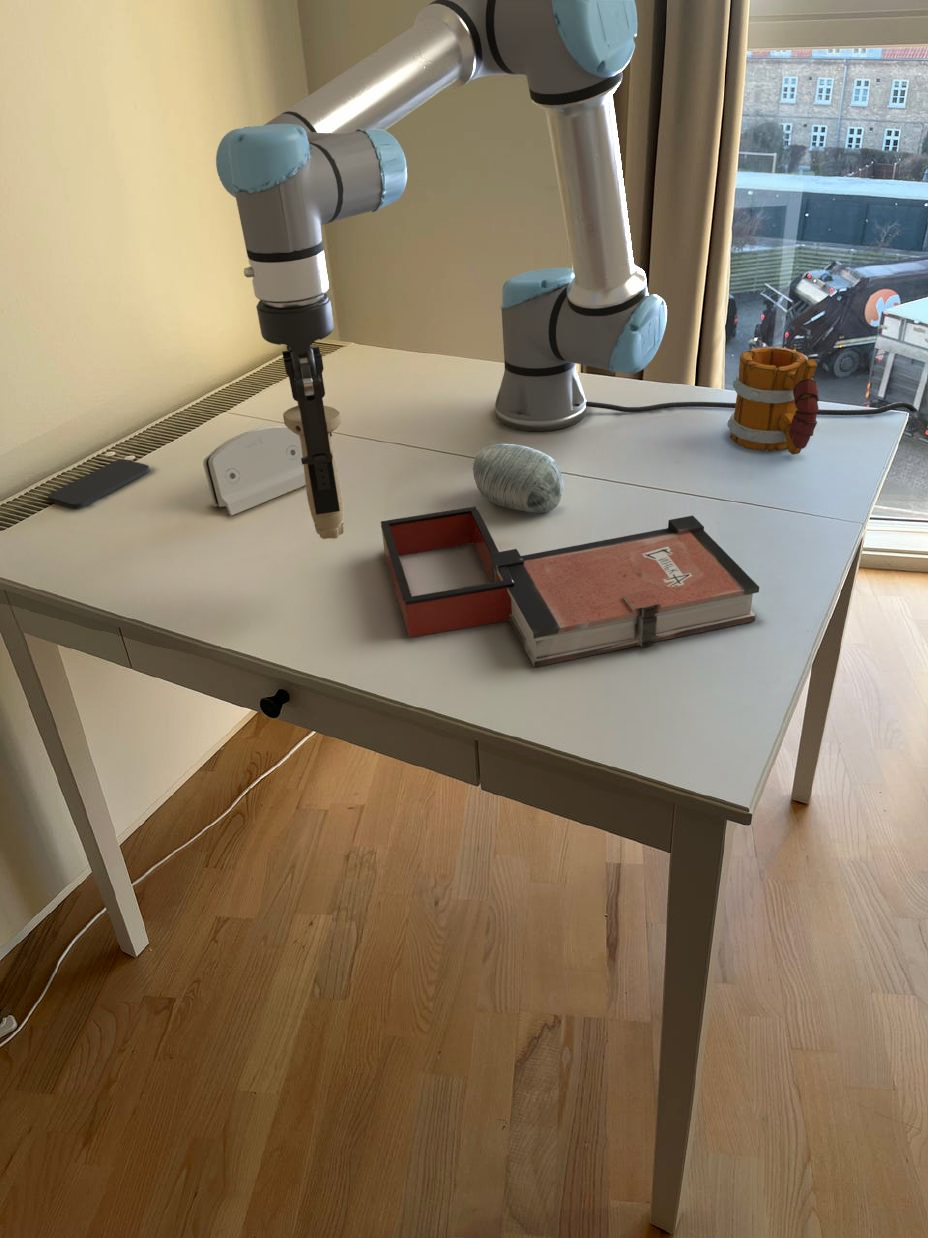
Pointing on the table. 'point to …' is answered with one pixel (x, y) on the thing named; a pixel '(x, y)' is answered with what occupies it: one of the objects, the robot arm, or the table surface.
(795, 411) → the mug
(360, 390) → the table surface
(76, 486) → the phone
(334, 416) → the handle
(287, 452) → the white piece
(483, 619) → the red black rectangular frame
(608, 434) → the table surface
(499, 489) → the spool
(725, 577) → the book
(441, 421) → the table surface
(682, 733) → the table surface
